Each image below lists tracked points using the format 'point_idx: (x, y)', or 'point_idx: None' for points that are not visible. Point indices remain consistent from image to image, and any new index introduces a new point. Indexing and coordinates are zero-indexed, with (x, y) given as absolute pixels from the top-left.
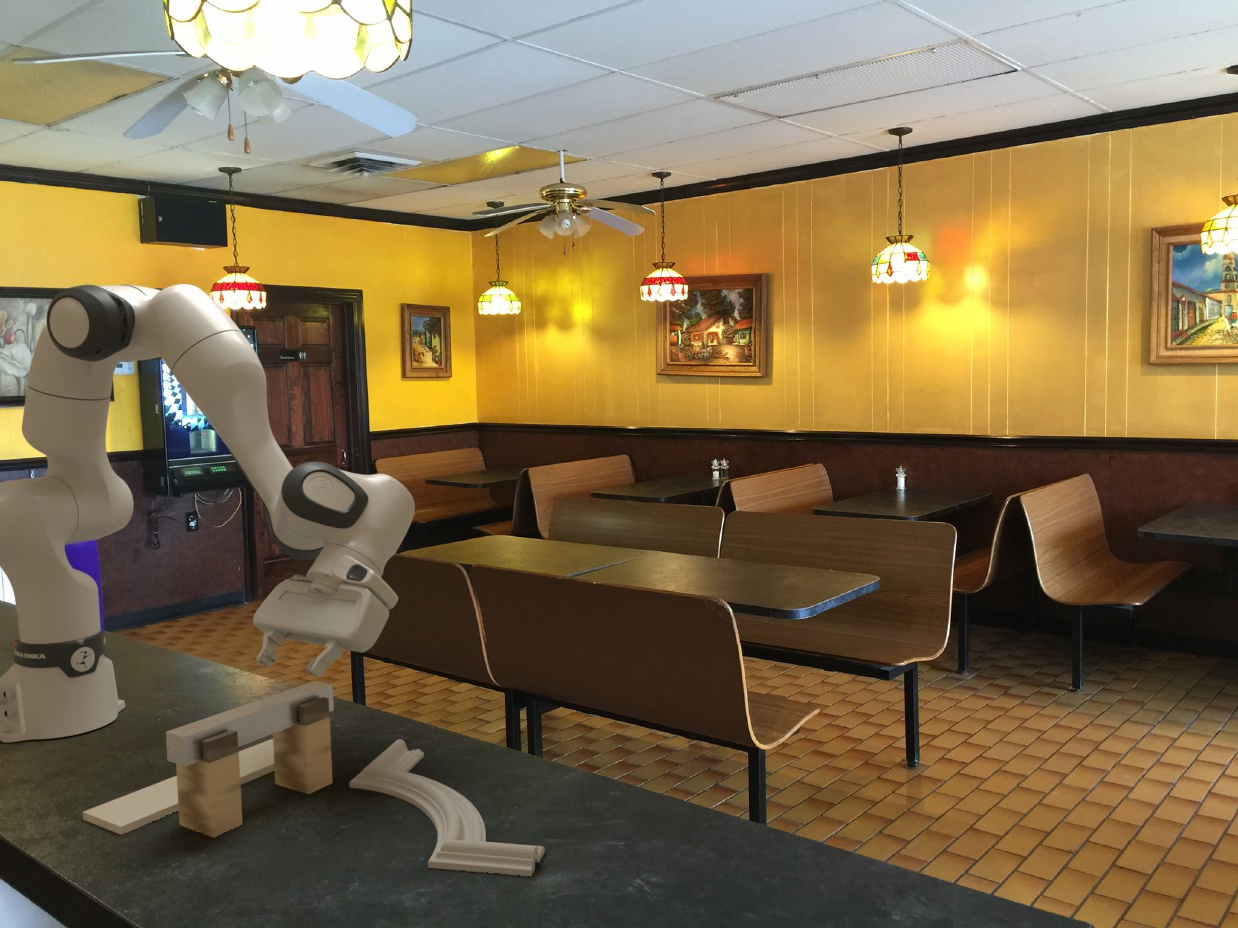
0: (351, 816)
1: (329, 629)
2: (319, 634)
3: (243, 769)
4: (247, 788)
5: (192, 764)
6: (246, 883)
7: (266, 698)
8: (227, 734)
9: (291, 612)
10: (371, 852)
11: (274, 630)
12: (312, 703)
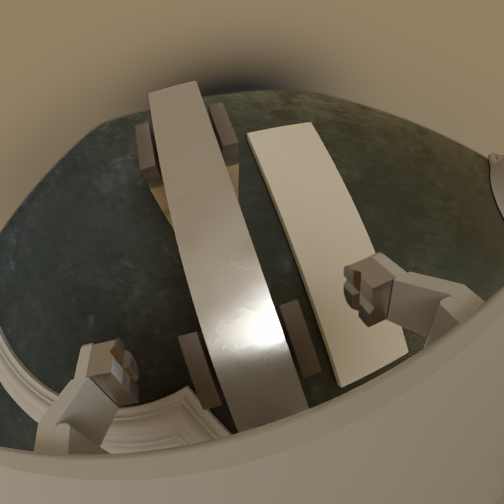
0: (106, 339)
1: (41, 478)
2: (96, 455)
3: (329, 286)
4: (282, 277)
5: None
6: (68, 198)
7: (252, 266)
8: (141, 154)
9: (485, 424)
10: (35, 306)
11: (458, 323)
12: (189, 363)
